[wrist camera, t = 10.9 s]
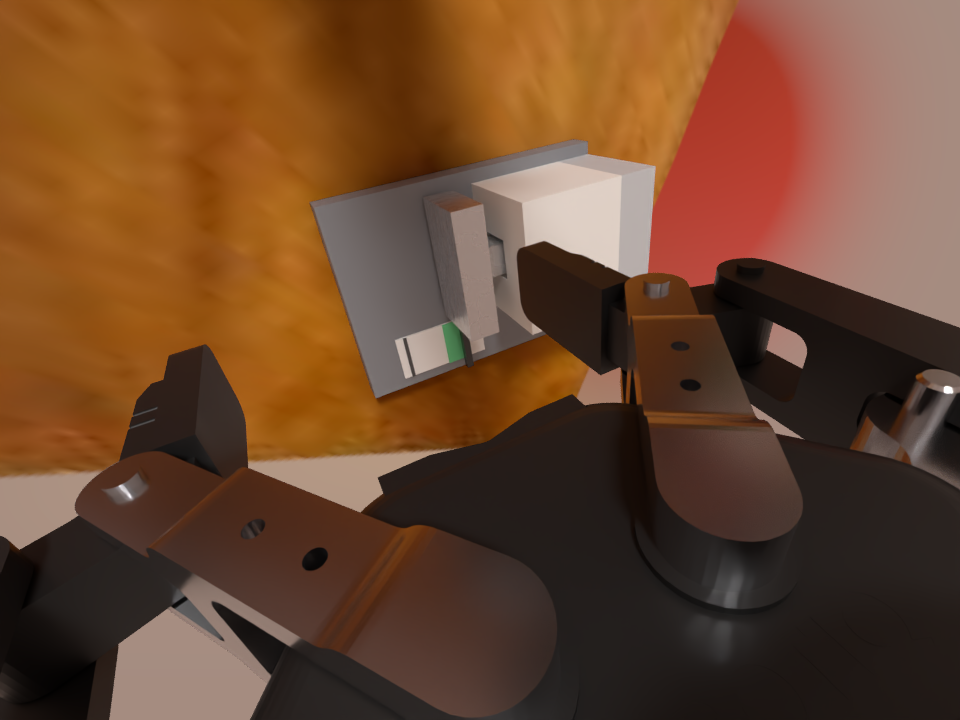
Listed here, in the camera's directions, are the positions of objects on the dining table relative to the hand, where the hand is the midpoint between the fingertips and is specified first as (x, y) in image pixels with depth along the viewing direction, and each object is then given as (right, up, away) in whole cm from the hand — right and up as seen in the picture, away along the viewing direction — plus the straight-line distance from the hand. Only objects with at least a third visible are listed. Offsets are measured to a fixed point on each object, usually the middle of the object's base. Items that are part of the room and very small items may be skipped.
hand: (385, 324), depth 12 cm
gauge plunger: (+4, +7, +29) cm, 30 cm away
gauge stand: (+1, +7, +30) cm, 31 cm away
